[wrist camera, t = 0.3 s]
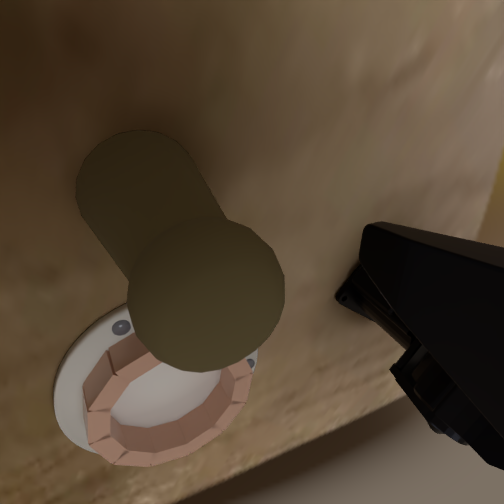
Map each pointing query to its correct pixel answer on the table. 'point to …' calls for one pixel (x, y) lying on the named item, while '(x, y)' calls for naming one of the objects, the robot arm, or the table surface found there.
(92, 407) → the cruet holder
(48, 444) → the table surface
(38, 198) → the table surface
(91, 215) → the brown peg
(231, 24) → the table surface
